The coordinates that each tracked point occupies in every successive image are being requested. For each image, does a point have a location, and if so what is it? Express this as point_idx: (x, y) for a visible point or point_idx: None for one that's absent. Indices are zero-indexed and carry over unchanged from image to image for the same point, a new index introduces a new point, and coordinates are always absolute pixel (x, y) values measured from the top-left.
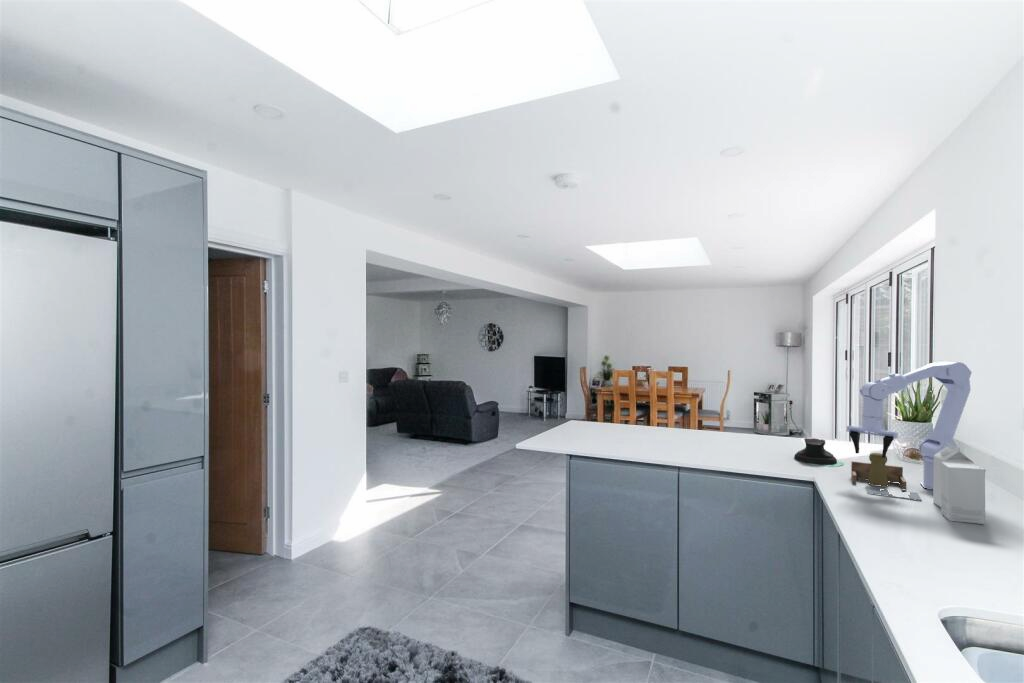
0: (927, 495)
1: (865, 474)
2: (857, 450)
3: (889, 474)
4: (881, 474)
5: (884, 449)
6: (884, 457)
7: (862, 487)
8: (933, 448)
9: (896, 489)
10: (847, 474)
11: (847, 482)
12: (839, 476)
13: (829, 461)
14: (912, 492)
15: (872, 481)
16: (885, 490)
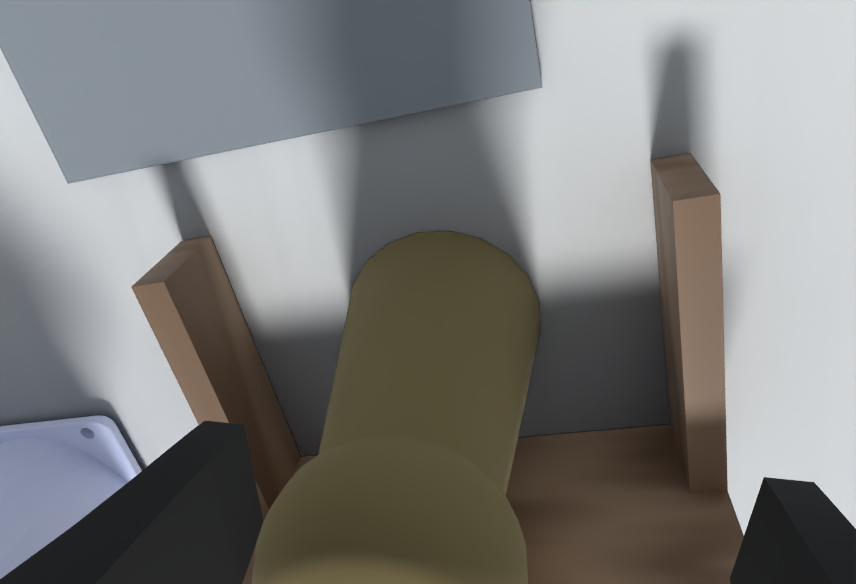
0: (2, 191)
1: (573, 472)
2: (807, 534)
3: None
4: (373, 329)
5: (63, 572)
6: (197, 426)
7: (573, 28)
8: None
9: (261, 229)
10: None
11: (754, 172)
12: (829, 403)
13: None
14: (95, 156)
15: (481, 265)
16: (310, 15)
